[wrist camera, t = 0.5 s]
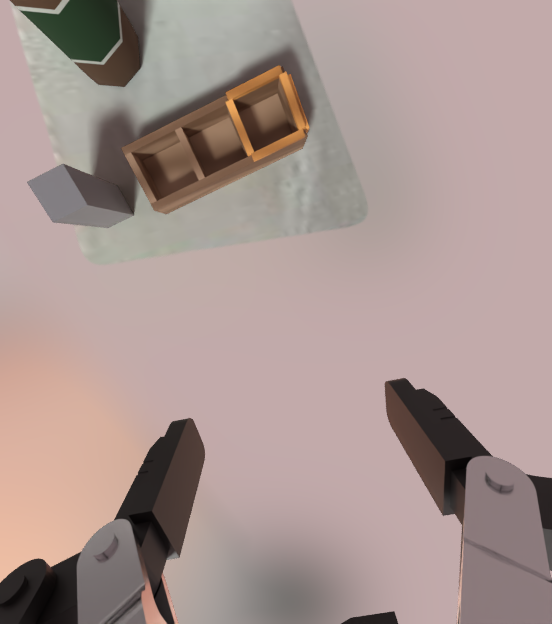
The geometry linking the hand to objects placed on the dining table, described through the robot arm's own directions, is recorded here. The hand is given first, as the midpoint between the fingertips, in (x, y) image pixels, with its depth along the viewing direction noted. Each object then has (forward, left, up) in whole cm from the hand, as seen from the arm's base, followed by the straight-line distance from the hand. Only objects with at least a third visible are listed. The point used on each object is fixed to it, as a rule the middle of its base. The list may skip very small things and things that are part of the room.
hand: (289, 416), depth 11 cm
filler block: (-19, -14, -29) cm, 37 cm away
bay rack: (-19, +2, -29) cm, 34 cm away
